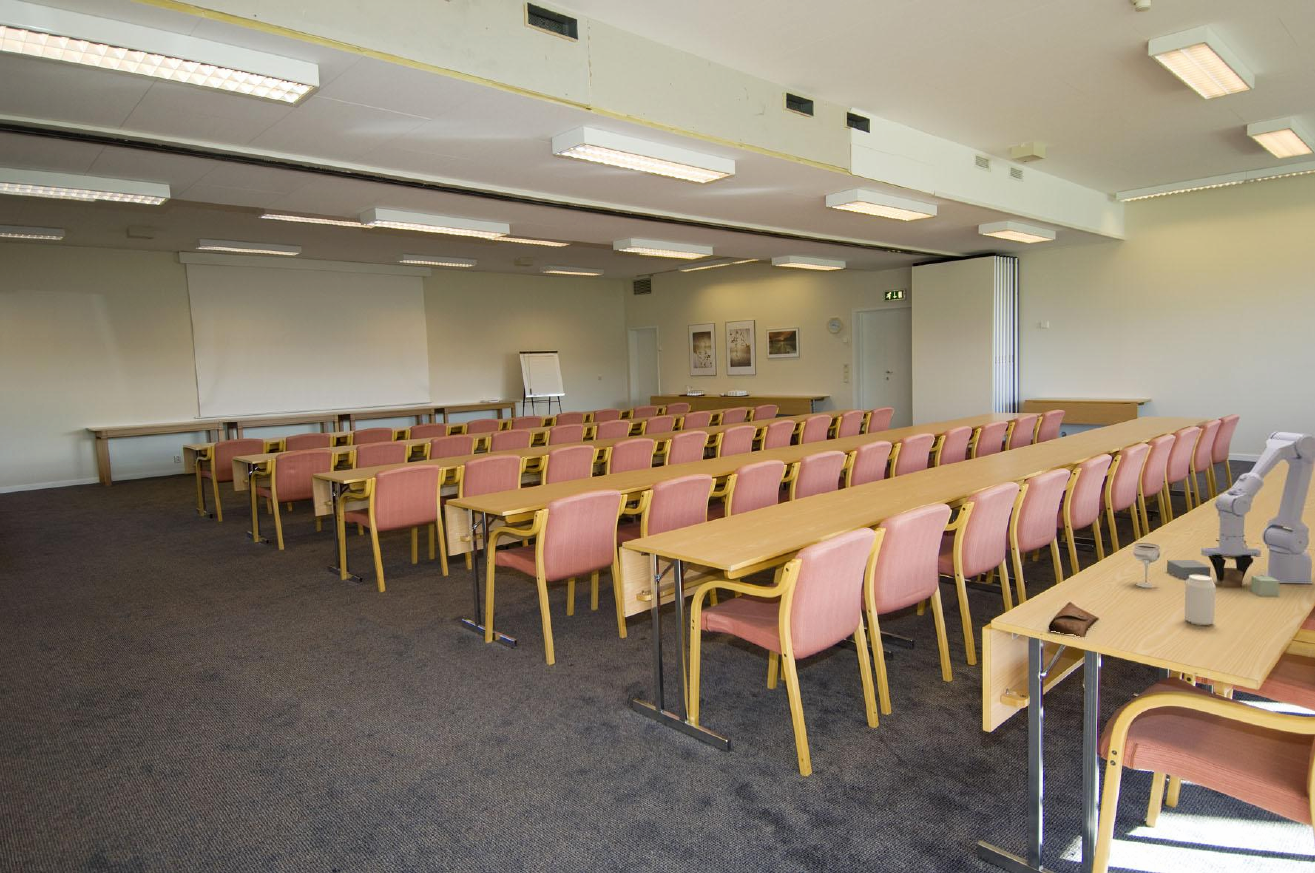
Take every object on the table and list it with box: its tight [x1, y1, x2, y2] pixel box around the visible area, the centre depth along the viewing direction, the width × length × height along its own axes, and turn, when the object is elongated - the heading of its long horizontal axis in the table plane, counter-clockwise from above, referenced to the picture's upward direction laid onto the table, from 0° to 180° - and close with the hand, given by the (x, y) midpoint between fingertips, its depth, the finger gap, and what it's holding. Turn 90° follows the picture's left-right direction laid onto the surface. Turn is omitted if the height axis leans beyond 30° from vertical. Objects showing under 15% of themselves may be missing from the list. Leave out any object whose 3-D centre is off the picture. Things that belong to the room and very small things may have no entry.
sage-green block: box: [1250, 575, 1280, 597], centre depth 214 cm, size 4×4×4 cm
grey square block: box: [1166, 559, 1211, 580], centre depth 233 cm, size 8×8×4 cm
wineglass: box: [1132, 542, 1161, 589], centre depth 225 cm, size 7×7×12 cm
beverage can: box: [1184, 575, 1216, 626], centre depth 194 cm, size 6×6×12 cm
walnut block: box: [1216, 567, 1244, 588], centre depth 223 cm, size 4×4×4 cm
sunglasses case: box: [1048, 601, 1100, 638], centre depth 197 cm, size 18×7×7 cm, turn 140°
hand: (1229, 579), depth 223 cm, fingers closed on walnut block, 4 cm apart
